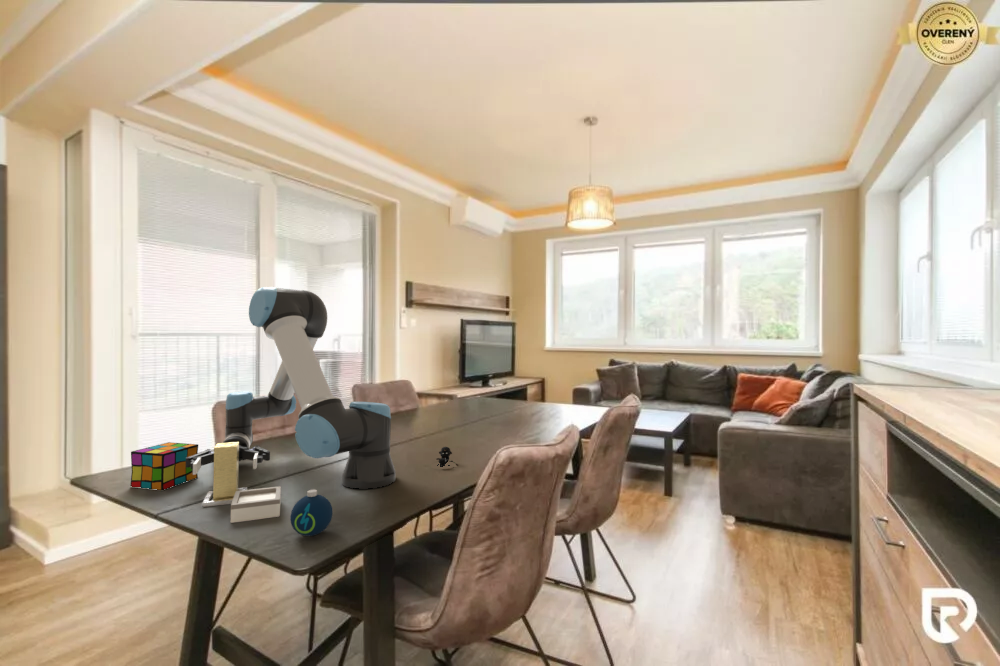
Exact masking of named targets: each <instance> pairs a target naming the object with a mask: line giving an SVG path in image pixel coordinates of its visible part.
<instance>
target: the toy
mask: <svg viewBox="0 0 1000 666" xmlns="http://www.w3.org/2000/svg"><path fill="white" fill-rule="evenodd" d="M198 452H199V444H198V443H196V444H195V443H186V442H185V443H183V442H170V441H169V442H168V441H167V442H164V443H161V444H156V445H152V446H148V447H145V448H141V449H136V450H131V451H130V457H131V458H130V461H131V476H130V477H131V478H130V484H129V485H130V486H132V487H141V488H149V489H157V490H164V489H166V490H168V489H167V488H169V489H171V488H170V487H172V486H175V485H177V486H179V485H178V484H180V485H182V484H181V483H183V482H186V481H189V480H191V481H193V480H192V479H194V480H196V479H195V478H197V479H199V476H198V475H199V474H198V473H197V474H195V475H193V469H191V467H189V468H186V458H187V457H190V456H193V455H195V454H198ZM189 482H190V481H189ZM186 483H187V482H186ZM183 484H184V483H183ZM175 487H176V486H175ZM172 488H173V487H172ZM157 490H156V491H157ZM164 491H165V490H164Z"/></svg>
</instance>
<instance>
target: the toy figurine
mask: <svg viewBox="0 0 1000 666" xmlns="http://www.w3.org/2000/svg"><path fill="white" fill-rule="evenodd" d="M438 453H439V455H440V457H441V458H440V457H438V458H435V459H436V461H438V462H439V463H440V467H443V466H445V464H446V463H447V462H448V461H449V462H454V461H453V460H450V455H452V454H453V451H451V448H450V447H448V446H443V447H441V450H440V451H438ZM438 465H439V464H438ZM438 465H437V466H438ZM448 466H450V465H448Z"/></svg>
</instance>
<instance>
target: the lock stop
mask: <svg viewBox="0 0 1000 666" xmlns="http://www.w3.org/2000/svg"><path fill="white" fill-rule="evenodd" d="M213 448H214V449H213V452H214V462H213V486H212V487H213V488H212V489H213V490H212V491H213V496H212V501H214V500H222V499H231V498H234V495H235V492H236V491H238V488H239V462H240V461H239V442H228V443H223V442H218V443H216V444H215V446H214V447H213Z"/></svg>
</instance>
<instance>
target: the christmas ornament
mask: <svg viewBox="0 0 1000 666" xmlns="http://www.w3.org/2000/svg"><path fill="white" fill-rule="evenodd" d="M306 492H307V493H306V495H305V496H302V497H301V498H299V500H297V502H295V504H294V505H293V507H292V509H291V512H290V518H289V519H290V524H291V527H292V529H293V530H294V531H295V532H296V533H297V534H299V535H301V536H303V537H304V536H305V537H314V536H316V535H319V534H321V533H322V532H323V531H325V530H326V529H327V527H328V526H329V525H330V523H331V521H332V519H333V511H334V510H333V506H332V503H331V502H330V500H329V499H328V498H327V497H325V495H323V494H319V493H318V490H317V489H310V490H307V491H306Z"/></svg>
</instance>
